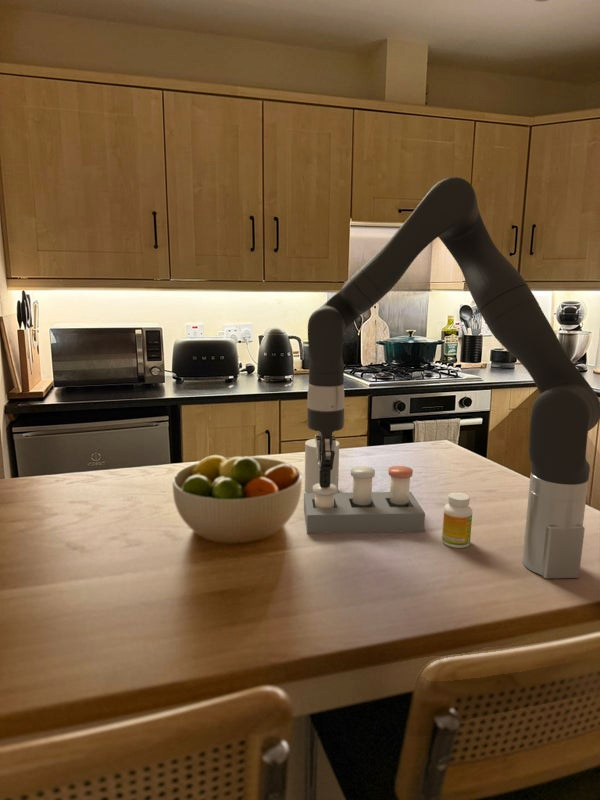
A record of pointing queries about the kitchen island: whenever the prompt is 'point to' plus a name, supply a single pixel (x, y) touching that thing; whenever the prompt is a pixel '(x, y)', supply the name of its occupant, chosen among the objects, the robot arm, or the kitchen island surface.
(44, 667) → the kitchen island surface
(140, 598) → the kitchen island surface
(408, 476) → the red plunger
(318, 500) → the far plunger
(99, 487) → the kitchen island surface
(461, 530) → the supplement bottle
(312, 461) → the white cylinder
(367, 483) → the mid plunger
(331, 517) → the panel
